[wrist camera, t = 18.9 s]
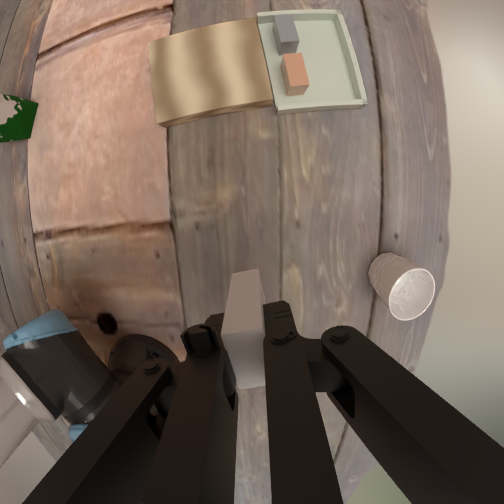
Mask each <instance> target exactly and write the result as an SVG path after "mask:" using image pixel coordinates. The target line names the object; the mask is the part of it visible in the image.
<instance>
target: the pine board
mask: <svg viewBox="0 0 504 504" xmlns="http://www.w3.org/2000/svg"><path fill="white" fill-rule="evenodd" d="M148 48H149V60H150V70H151V80H152V89H153V97H154V105H155V113H156V120H157V124H159V125H161V126H164V127H170V126H174V125H178V124H182V123H186V122H190V121H194V120H198V119H203V118H207V117H212V116H217V115H221V114H227V113H232V112H237V111H243V110H249V109H255V108H262V107H269V106H272V103H273V96H272V91H271V86H270V81H269V76H268V71H267V67H266V62H265V57H264V53H263V48H262V44H261V40H260V35H259V31H258V27H257V23H256V19H255V18H250V19H243V20H237V21H230V22H225V23H220V24H214V25H210V26H205V27H201V28H196V29H192V30H188V31H185V32H181V33H177V34H174V35H170V36H167V37H164V38H161V39H158V40H155V41H152V42H149V43H148Z"/></svg>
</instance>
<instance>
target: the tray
mask: <svg viewBox="0 0 504 504" xmlns="http://www.w3.org/2000/svg"><path fill="white" fill-rule="evenodd" d="M282 14H292V17H293V20H294V23H295V26H296V30H297V33H298V37H299V40H300V41H299V44H298V48H297V51H296V53H302V56H303V60H304V64H305V68H306V72H307V76H308V80H309V86H308V88H307V90H306V92H305V93H304V95H295V96H287V94H286V90H285V85H284V80H283V76H282V71H281V62H282V57H283V55H282V56H279V54H278V50H277V46H276V42H275V38H274V34H273V20H274V15H282ZM257 24H258V28H259V32H260V36H261V40H262V45H263V49H264V54H265V58H266V63H267V67H268V72H269V77H270V81H271V86H272V91H273V96H274V101H275V106H276V112H277V115H282V114H290V113H300V112H310V111H323V110H339V109H361V108H363V107H364V106H366V105H368V102H367V98H366V93H365V89H364V85H363V81H362V77H361V73H360V69H359V66H358V62H357V59H356V55H355V52H354V48H353V45H352V42H351V39H350V36H349V33H348V30H347V27H346V24H345V21H344V18H343V15H342V13H341V10H284V11H271V12H261V13H257Z"/></svg>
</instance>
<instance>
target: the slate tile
mask: <svg viewBox="0 0 504 504" xmlns="http://www.w3.org/2000/svg"><path fill="white" fill-rule="evenodd" d="M273 34H274V38H275V42H276V46H277V50H278V54H279V56H282V55H283V54H290V53H296V51H297V48H298V44H299V41H300V40H299V37H298V33H297V30H296V26H295V23H294V20H293V17H292V14H282V15H274V20H273Z"/></svg>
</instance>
